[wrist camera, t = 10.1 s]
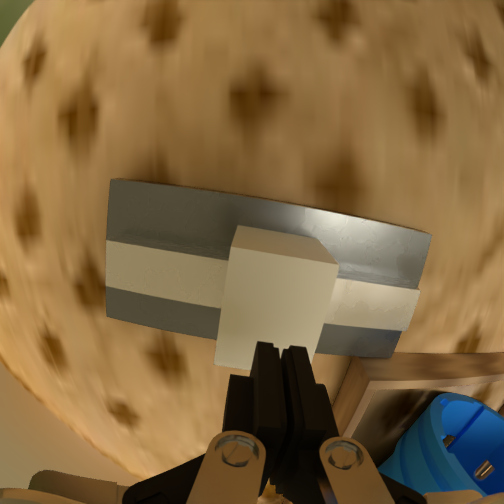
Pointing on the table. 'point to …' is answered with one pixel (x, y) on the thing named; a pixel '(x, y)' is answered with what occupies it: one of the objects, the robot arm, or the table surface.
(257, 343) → the robot arm
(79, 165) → the table surface
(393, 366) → the brown wooden tray
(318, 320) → the block
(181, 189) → the rail board
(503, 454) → the tube
